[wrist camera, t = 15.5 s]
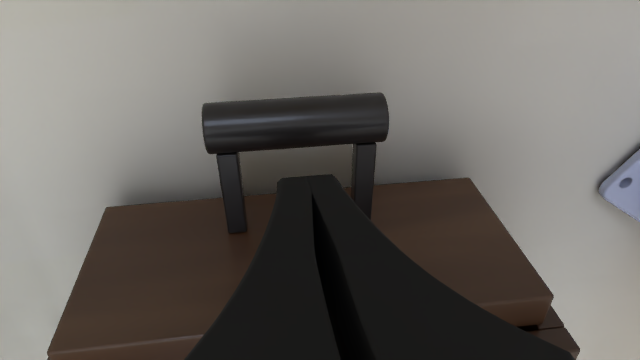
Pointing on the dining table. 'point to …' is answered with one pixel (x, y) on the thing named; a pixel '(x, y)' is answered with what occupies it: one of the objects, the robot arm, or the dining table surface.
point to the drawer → (249, 227)
